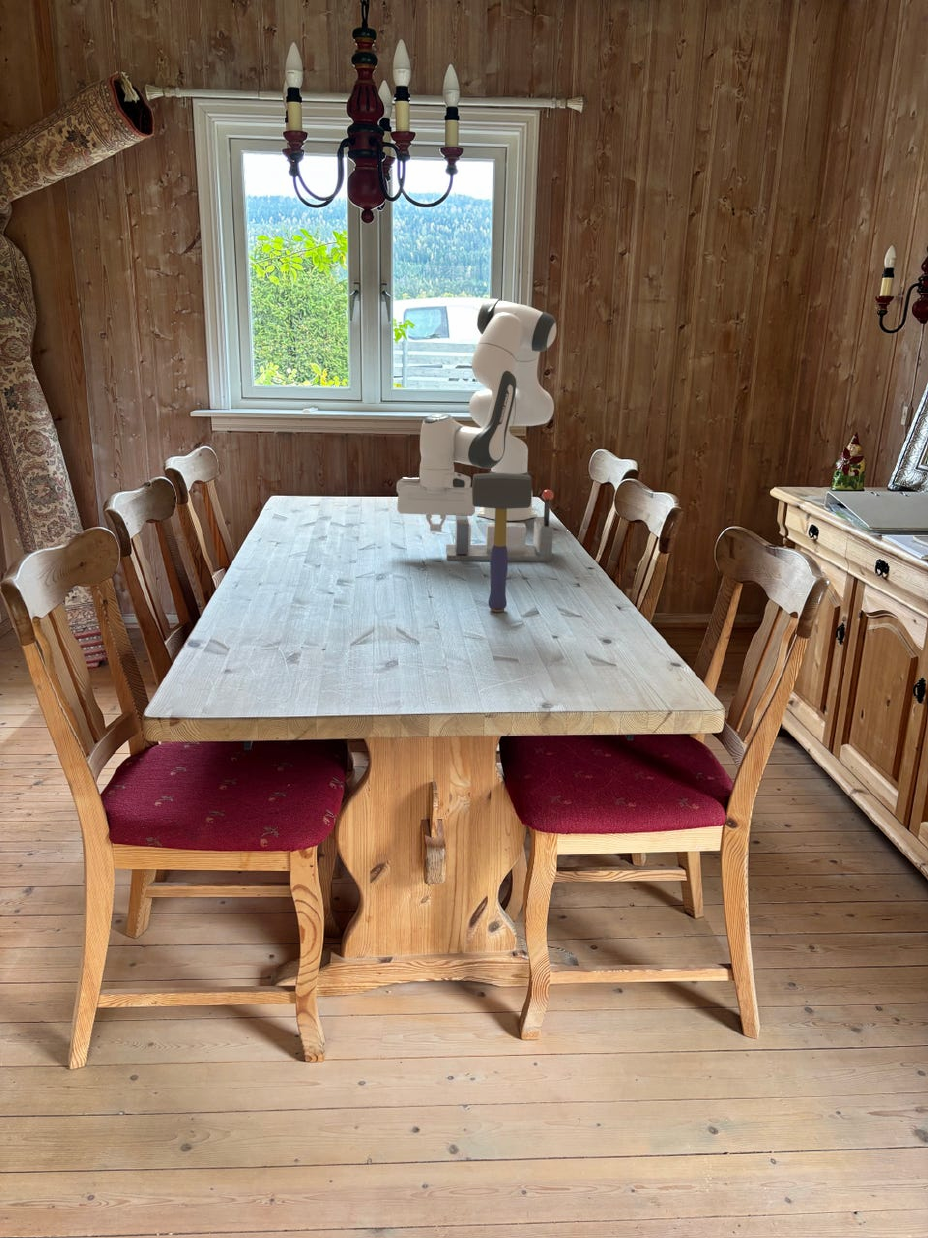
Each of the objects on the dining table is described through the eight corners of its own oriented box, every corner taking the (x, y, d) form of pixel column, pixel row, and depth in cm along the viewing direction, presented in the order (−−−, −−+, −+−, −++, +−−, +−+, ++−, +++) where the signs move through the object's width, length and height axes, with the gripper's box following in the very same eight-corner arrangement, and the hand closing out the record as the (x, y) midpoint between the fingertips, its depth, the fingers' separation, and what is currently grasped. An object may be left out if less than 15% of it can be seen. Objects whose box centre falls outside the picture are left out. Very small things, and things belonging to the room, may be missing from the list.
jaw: (455, 544, 263) (455, 514, 261) (468, 544, 264) (469, 514, 261) (456, 554, 253) (457, 523, 251) (470, 554, 253) (471, 523, 251)
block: (485, 548, 261) (486, 522, 259) (523, 548, 262) (524, 523, 259) (486, 552, 256) (487, 526, 254) (524, 553, 257) (526, 527, 255)
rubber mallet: (468, 615, 209) (472, 475, 200) (468, 605, 216) (472, 469, 207) (527, 616, 209) (533, 476, 200) (524, 606, 216) (530, 470, 207)
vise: (446, 548, 264) (447, 481, 259) (545, 550, 265) (549, 482, 260) (446, 560, 253) (448, 489, 247) (551, 561, 254) (554, 491, 248)
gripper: (395, 479, 250) (394, 532, 254) (475, 481, 249) (473, 535, 253) (397, 475, 256) (397, 527, 260) (476, 477, 255) (474, 529, 259)
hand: (435, 531), depth 257 cm, fingers closed
